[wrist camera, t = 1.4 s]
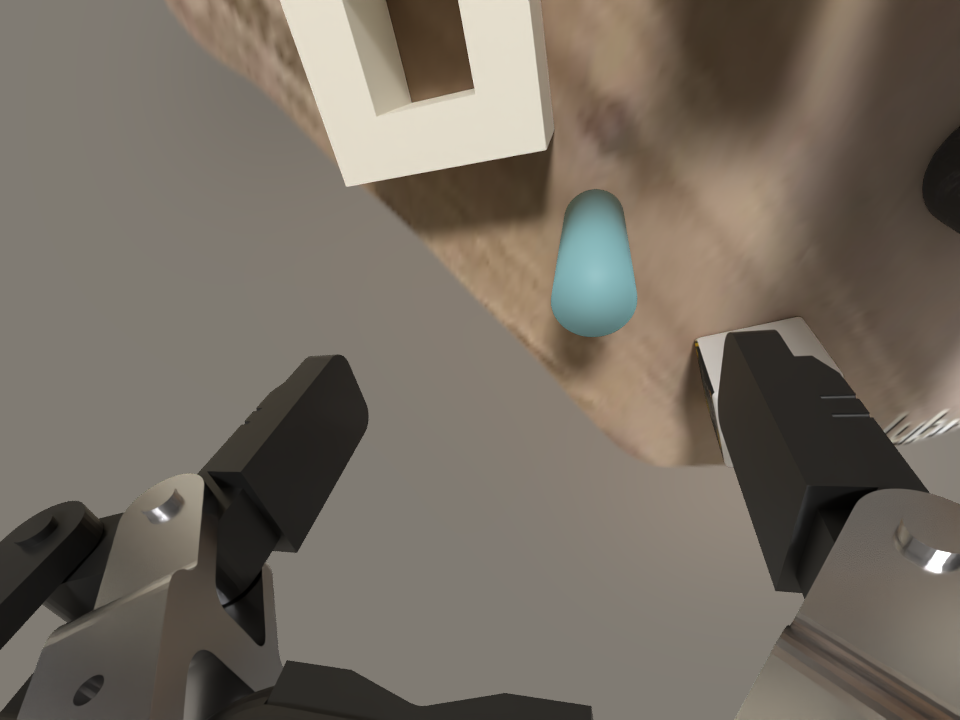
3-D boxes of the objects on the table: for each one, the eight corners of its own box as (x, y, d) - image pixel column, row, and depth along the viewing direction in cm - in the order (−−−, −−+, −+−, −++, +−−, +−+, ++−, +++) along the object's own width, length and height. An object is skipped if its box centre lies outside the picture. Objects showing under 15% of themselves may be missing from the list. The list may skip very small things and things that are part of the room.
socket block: (526, -140, 22) (507, -187, 17) (554, 130, 28) (546, 149, 24) (314, -62, 25) (250, -83, 21) (383, 163, 32) (346, 186, 27)
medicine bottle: (693, 336, 35) (730, 451, 25) (801, 313, 32) (889, 432, 23) (706, 405, 38) (744, 529, 29) (806, 389, 35) (883, 520, 26)
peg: (623, 184, 29) (636, 257, 20) (624, 243, 32) (637, 334, 22) (561, 194, 31) (546, 267, 21) (566, 250, 33) (555, 339, 23)
